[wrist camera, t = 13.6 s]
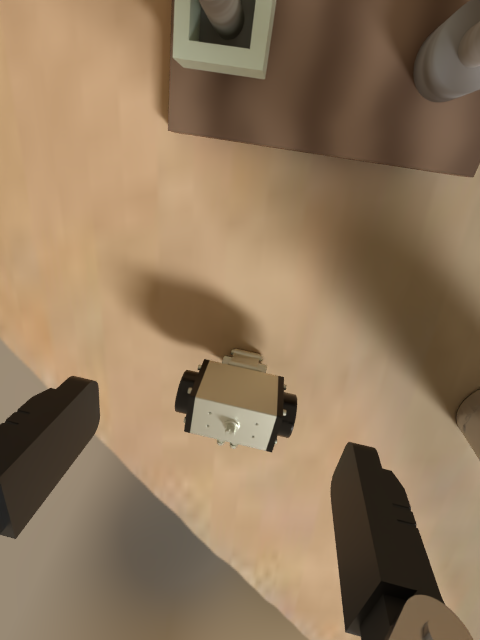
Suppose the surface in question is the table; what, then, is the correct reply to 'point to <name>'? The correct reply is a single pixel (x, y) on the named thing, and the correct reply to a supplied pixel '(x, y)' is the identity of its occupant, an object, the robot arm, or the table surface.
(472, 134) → the board
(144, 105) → the table surface
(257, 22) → the ring
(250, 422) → the pneumatic valve
